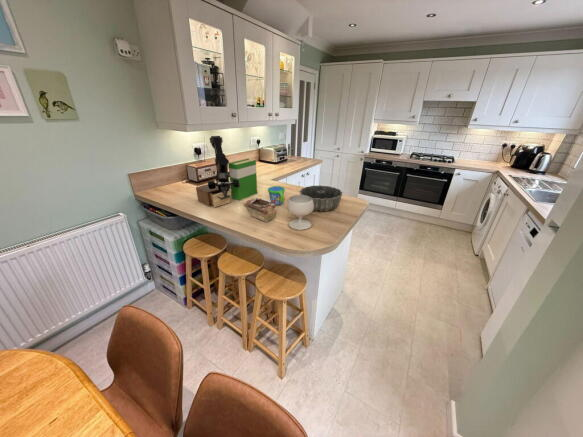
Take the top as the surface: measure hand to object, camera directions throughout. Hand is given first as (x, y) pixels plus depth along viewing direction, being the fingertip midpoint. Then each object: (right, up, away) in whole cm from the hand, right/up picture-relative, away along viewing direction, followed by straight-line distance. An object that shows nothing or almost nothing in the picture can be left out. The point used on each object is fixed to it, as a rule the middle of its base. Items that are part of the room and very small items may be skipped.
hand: (224, 196), depth 142 cm
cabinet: (-12, -2, +14) cm, 19 cm away
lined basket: (+21, -13, -9) cm, 27 cm away
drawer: (-6, -3, +9) cm, 11 cm away
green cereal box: (+7, +3, +23) cm, 25 cm away
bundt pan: (+59, -6, +6) cm, 60 cm away
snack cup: (+31, -4, +10) cm, 33 cm away
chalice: (+45, -17, -17) cm, 51 cm away
